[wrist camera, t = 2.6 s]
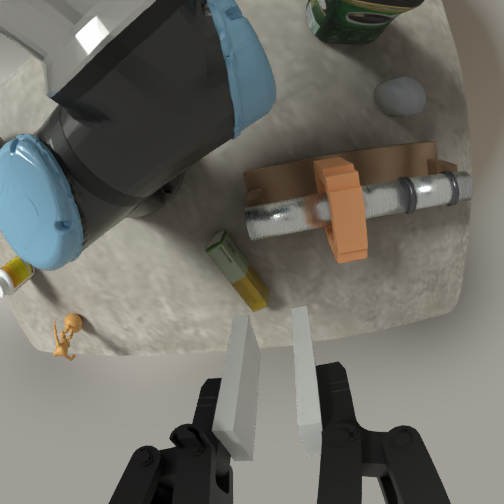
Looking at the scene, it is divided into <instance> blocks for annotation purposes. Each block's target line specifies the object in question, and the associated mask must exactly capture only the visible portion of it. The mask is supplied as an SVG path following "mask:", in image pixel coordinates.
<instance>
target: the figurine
mask: <svg viewBox="0 0 504 504" xmlns="http://www.w3.org/2000/svg"><path fill="white" fill-rule="evenodd" d="M55 322H56V321H55ZM55 322H54V334H55V340H56V344H57V348H56V350H55V351H54V353H53V354H54V356H64V357H65V358H67V359H69V360H73V359H74V357H75V355H72V357H69V356H68V355H67V352H68V347H69V346H70V342H69V339H71V338H72V336H73V333H77V332H79V331H80V330H81V328H82V320H81V318H80V316H78V315H77V314H74V313H72V314H69V315H67V316H66V318H65V327H66V329H65V330H64V331H62V332H60V334H61V339H63V340H62V342H60V343H59V339H58V336H57V331H56V327H55ZM68 331H70V333H71V335H70V336H69V337H68V338H66V335H65V333H67V332H68Z"/></svg>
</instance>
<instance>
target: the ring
mask: <svg viewBox="0 0 504 504" xmlns="http://www.w3.org/2000/svg"><path fill="white" fill-rule="evenodd" d="M313 167H314V172H315V179H316V185H317V190H318V193H322V192H326V193H327V196H328V202H329V208H330V214H331V221H332V226H327V227H324V228H325V233H326V235H327V240H328V242H329V245H330V247H331V249H332V252H333V254H334V256H335V259H336V261H337V262H338V263H339V264H340V263H345V262H350V261H355V260H360V259H364V258H368V257H367V248H368V240H367V229H366V218H365V209H364V201H363V193H362V187H361V186H360V181H359V174H358V171H356V170H355V169H354V165H353V164H352V163H350V162H348V161H347V160H345V159H343V158H341V157H335V158H329V159H323V160H318V161H314V164H313Z"/></svg>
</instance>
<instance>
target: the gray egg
mask: <svg viewBox="0 0 504 504" xmlns="http://www.w3.org/2000/svg"><path fill="white" fill-rule="evenodd" d="M374 99H375V102H376V105H377V106H378V108H379V109H380V110H381V111H382V112H383V113H385V114H387V115H417V114H419V113H421V112H422V111H423V110H424V108H425V106H426V93H425V90H424V88H423V87H422V85H421V84H420V83H419V82H418V81H417V80H415V79H414V78H412V77H408V76H402V77H399V78H395V79H392V80H389V81H386V82H383V83H381V84H379V85H378V86H377V88H376V89H375V93H374Z"/></svg>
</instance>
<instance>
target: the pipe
mask: <svg viewBox="0 0 504 504" xmlns="http://www.w3.org/2000/svg"><path fill="white" fill-rule="evenodd" d="M361 187H362V193H363V201H364V209H365V218H366V219H369V218H374V217H379V216H385V215H390V214H396V213H401V212H405V213H407V214H408V213H413V212H414V211H415V210H417V209H423V208H428V207H434V206H439V205H445V204H446V205H448V206H452V205H455V204H456V203H457V202H462V201H468V200H470V199H471V198H472V196H473V183H472V179H471V177H470V175H469V174H468V173H467V172H466V171H457V172H451V171H442V172H441V173H440V174H434V175H426V176H419V177H412V178H408V177H407V176H404V177H399V178H398V180H392V181H386V182H380V183H373V184H367V185H361ZM245 220H246V226H247V230H248V233H249V236H250V239H251V241H255V240H260V239H265V238H270V237H275V236H280V235H285V234H291V233H296V232H301V231H306V230H311V229H316V228H321V227H327V226H332V221H331V214H330V208H329V202H328V196H327V193H326V192H322V193H317V194H312V195H306V196H301V197H296V198H291V199H286V200H281V201H276V202H271V203H267V204H262V205H257V206H253V207H248V208H245Z"/></svg>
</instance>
